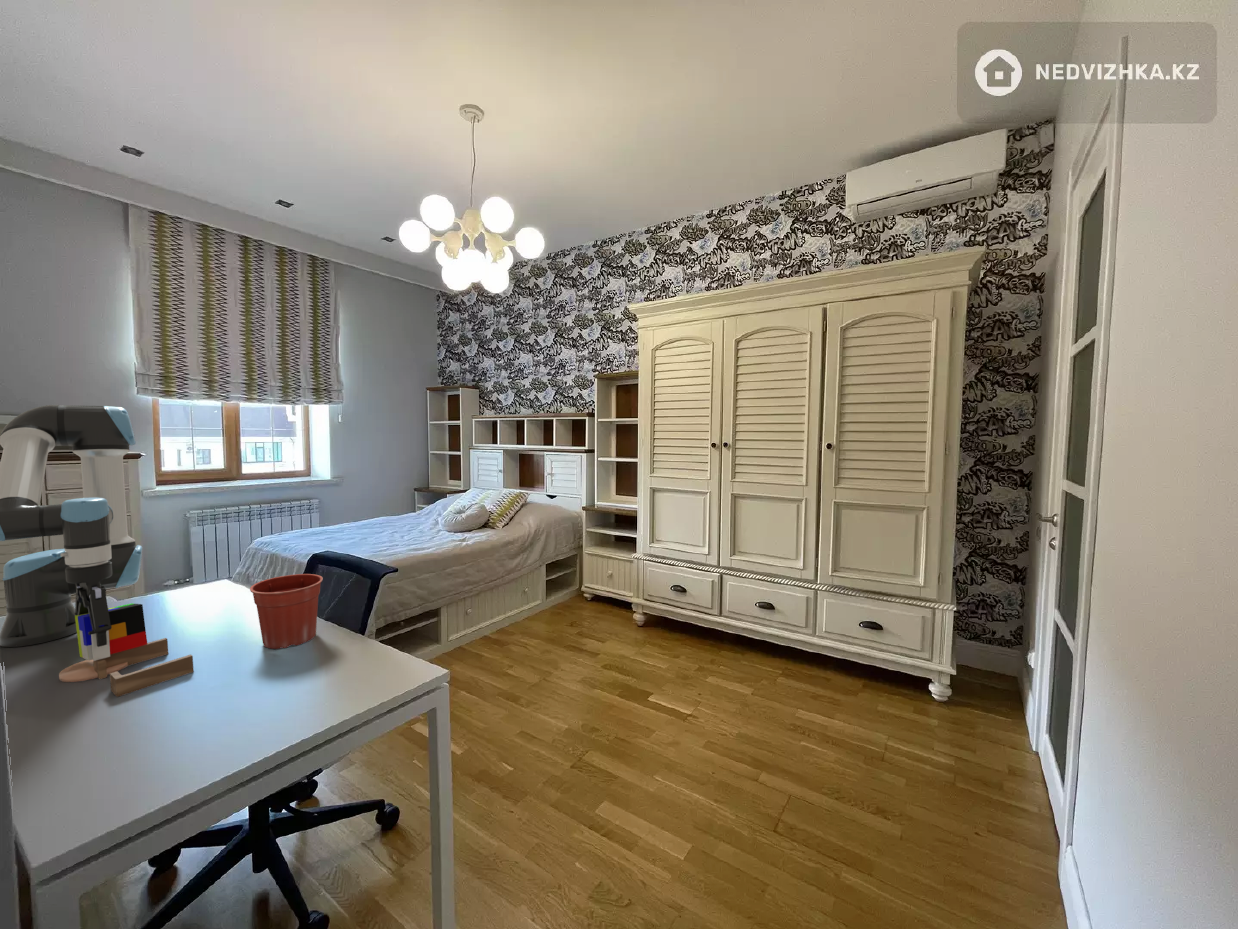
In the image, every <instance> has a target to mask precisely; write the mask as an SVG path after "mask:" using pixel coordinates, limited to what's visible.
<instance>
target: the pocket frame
mask: <svg viewBox="0 0 1238 929" xmlns="http://www.w3.org/2000/svg"><path fill="white" fill-rule="evenodd" d="M168 642H169V641H168V638H167V637H164V638H160V639H156V640H152V641H150V642H147V645H143V646H139V647H136V648H132V649H128V650H125V651H121V652H117V653H114V654H110V657H107V658H103V659H99V660H96V661H93V665H94V671H95V672H96V673H97V674H98V678H97V679H98V680H103V679H105V678H108V675H107V671H106V668H109V667H112V666H116V665H119V664H122V663H126V662H128V666H127V667H130V666H131V665H133V666H134V665H136V664H138V663H143V662H147V661H149V660H153V659H156V658H160V657H163V656H165V655H166V656H167V655H169V644H168ZM193 657H194V656H193V655H192V654H188V655H185V656H181V657H179V658H174V659H172V660H168V661H165V662H161V663H158V664H155V665H152V666H149V667H145V668H142V669H139V670H136V671H132V672H128V673H125V674H121V673H120V672H119V671H117V672H113V673H110V674H109V684H110V692H111V693H113V695H115V697H116V698H119V697H122V696H124V695H128V694H130V693H134V692H137V691H140V690H143V689H146V688H149V687H152V686H155V685H158V684H161V683H164V682H167V681H170V680H173V679H176V678H179V677H182V676H186V675H189V674H191V673H194V672H195V671H194V658H193Z"/></svg>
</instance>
